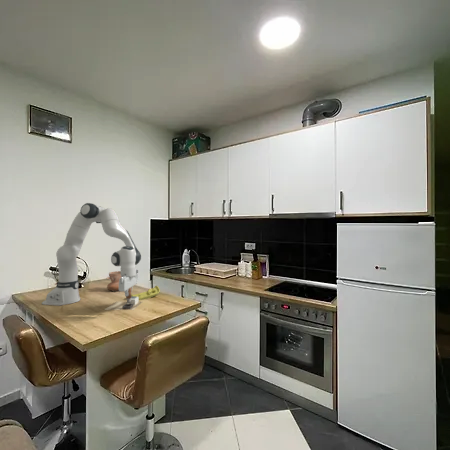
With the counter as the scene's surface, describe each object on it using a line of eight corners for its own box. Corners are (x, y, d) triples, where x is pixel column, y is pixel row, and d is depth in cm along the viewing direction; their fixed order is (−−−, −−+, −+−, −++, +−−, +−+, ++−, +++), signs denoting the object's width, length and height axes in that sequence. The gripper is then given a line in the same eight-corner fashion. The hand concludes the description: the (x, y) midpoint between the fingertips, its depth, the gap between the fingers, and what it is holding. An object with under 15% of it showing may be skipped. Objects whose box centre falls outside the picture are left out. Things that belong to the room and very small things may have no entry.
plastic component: (134, 299, 165) (129, 290, 172) (133, 308, 168) (128, 299, 175) (162, 292, 178) (156, 284, 185) (160, 300, 181) (155, 291, 187)
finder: (135, 304, 158) (135, 298, 158) (127, 304, 158) (127, 298, 158) (138, 302, 164) (138, 296, 164) (131, 302, 164) (131, 296, 164)
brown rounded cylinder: (125, 303, 151) (125, 287, 151) (126, 301, 154) (126, 285, 154) (131, 302, 152) (131, 286, 152) (131, 301, 155) (131, 285, 155)
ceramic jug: (110, 293, 189) (111, 275, 189) (102, 290, 198) (102, 272, 198) (132, 289, 202) (132, 272, 203) (123, 286, 212) (123, 269, 212)
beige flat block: (104, 311, 149) (103, 307, 149) (116, 303, 165) (116, 299, 165) (133, 311, 149) (133, 307, 149) (142, 303, 165) (142, 299, 165)
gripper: (126, 276, 143) (126, 300, 143) (139, 269, 163) (139, 290, 163) (115, 276, 143) (115, 300, 143) (129, 269, 163) (129, 290, 163)
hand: (128, 295), depth 153 cm, fingers closed on brown rounded cylinder, 3 cm apart
